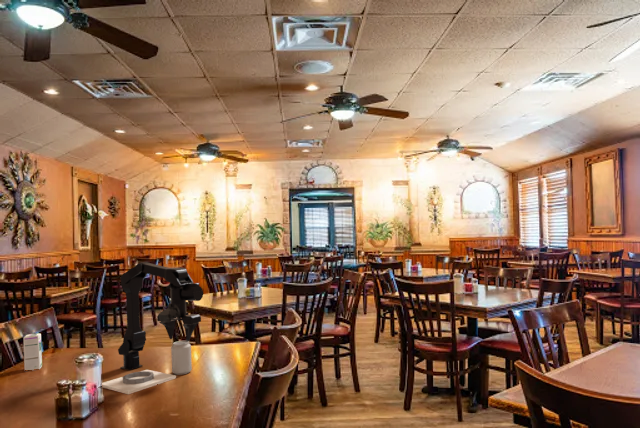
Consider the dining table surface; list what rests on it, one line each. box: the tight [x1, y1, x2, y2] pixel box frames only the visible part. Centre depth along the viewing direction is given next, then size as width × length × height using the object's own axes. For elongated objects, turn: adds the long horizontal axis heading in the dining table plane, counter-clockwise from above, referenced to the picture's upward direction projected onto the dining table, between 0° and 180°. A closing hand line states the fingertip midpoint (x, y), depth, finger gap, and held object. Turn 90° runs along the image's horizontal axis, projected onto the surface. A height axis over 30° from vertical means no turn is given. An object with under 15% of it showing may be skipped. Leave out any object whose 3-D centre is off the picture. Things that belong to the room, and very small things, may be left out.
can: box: [170, 340, 193, 376], centre depth 187 cm, size 8×8×12 cm
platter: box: [101, 369, 177, 395], centre depth 177 cm, size 18×20×2 cm
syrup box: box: [23, 332, 43, 371], centre depth 203 cm, size 6×6×14 cm
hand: (179, 339), depth 186 cm, fingers open, 9 cm apart
